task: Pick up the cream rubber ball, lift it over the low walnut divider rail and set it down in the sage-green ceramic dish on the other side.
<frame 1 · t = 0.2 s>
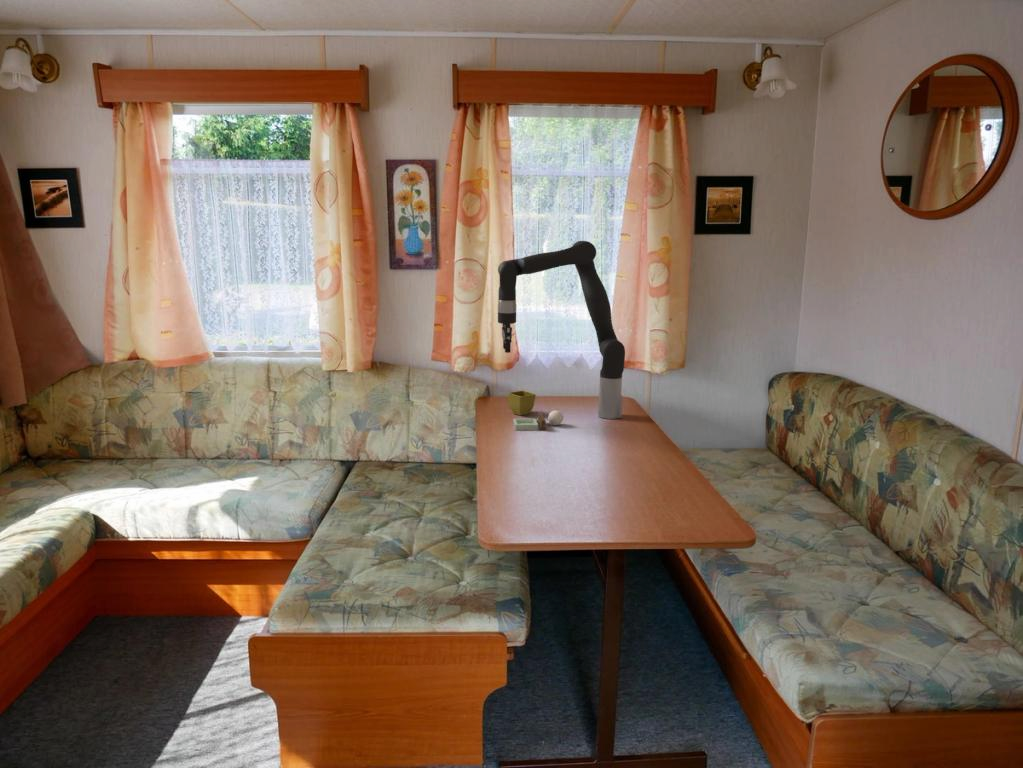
hand: (506, 350, 279), 29 cm above the table, fingers open, 8 cm apart
dish: (525, 426, 272), on the table
ball: (555, 425, 276), on the table
flower pot: (521, 414, 292), on the table
rail: (541, 426, 274), on the table
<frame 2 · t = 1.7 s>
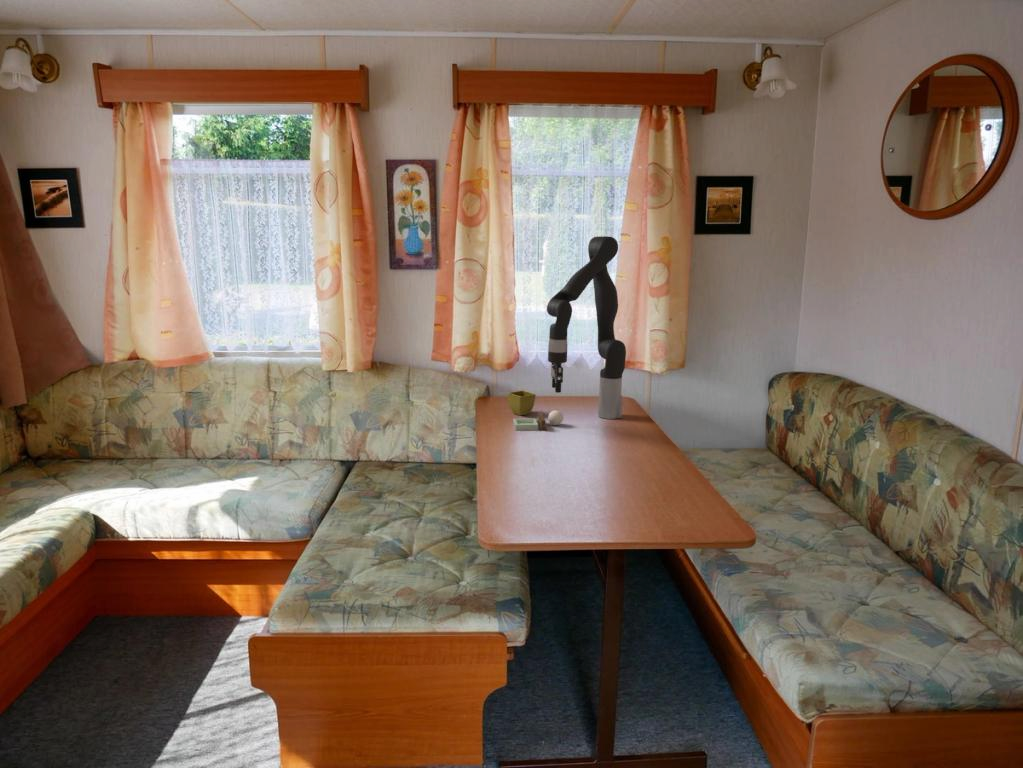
hand: (556, 389, 272), 15 cm above the table, fingers open, 8 cm apart
nothing on the table moved.
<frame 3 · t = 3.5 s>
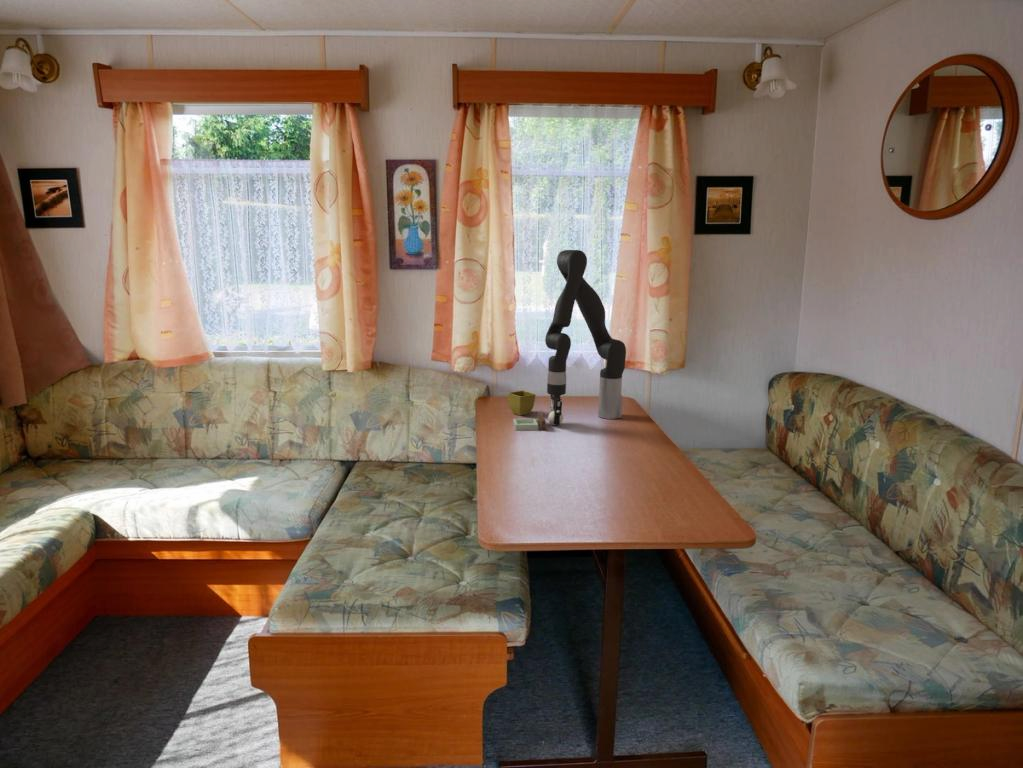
hand: (555, 422, 275), 1 cm above the table, fingers closed on ball, 6 cm apart
ball: (555, 425, 276), on the table, touching gripper
everything else where it was.
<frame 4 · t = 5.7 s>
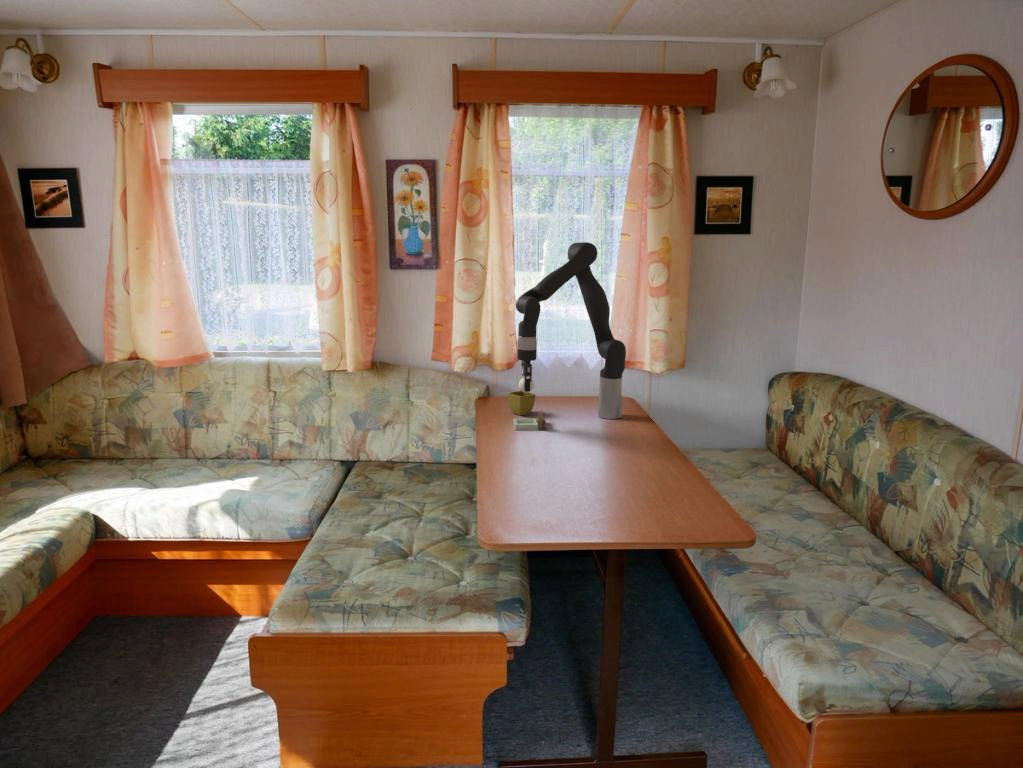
hand: (526, 389, 269), 15 cm above the table, fingers closed on ball, 6 cm apart
ball: (526, 392, 269), point 14 cm above the table, touching gripper
everything else where it was.
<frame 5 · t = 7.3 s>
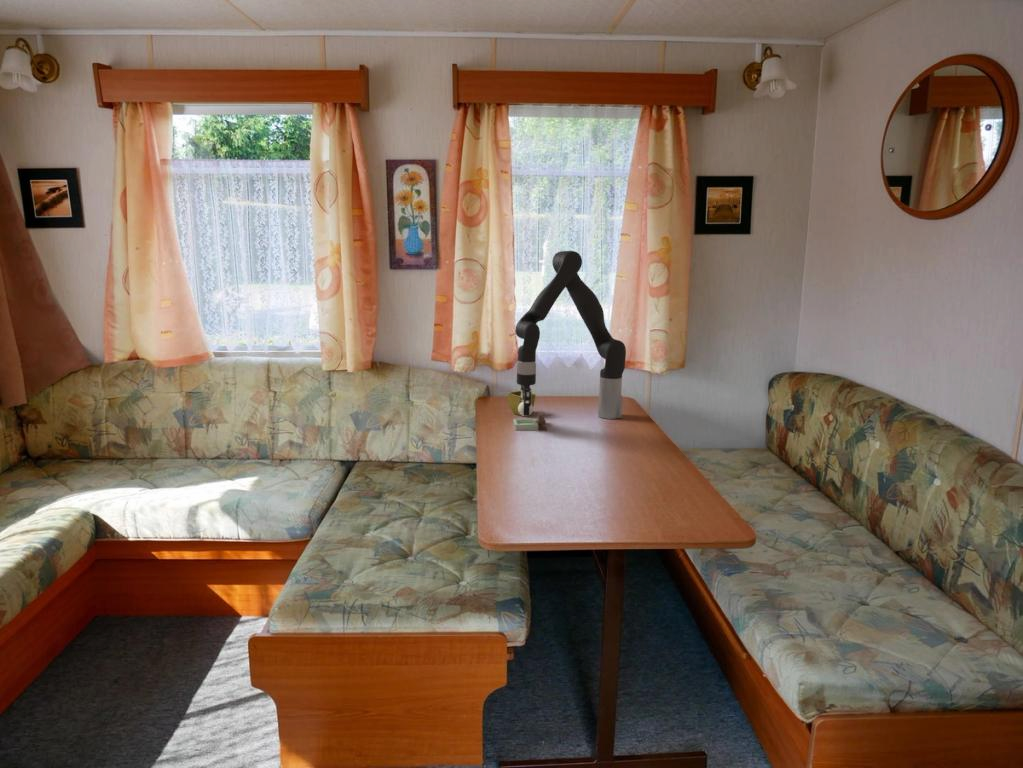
hand: (525, 413, 271), 6 cm above the table, fingers closed on ball, 6 cm apart
ball: (525, 415, 271), point 4 cm above the table, touching gripper
everything else where it was.
when the fingers open (3 cm above the table, at t = 8.4 s): ball drops 2 cm, resting on dish.
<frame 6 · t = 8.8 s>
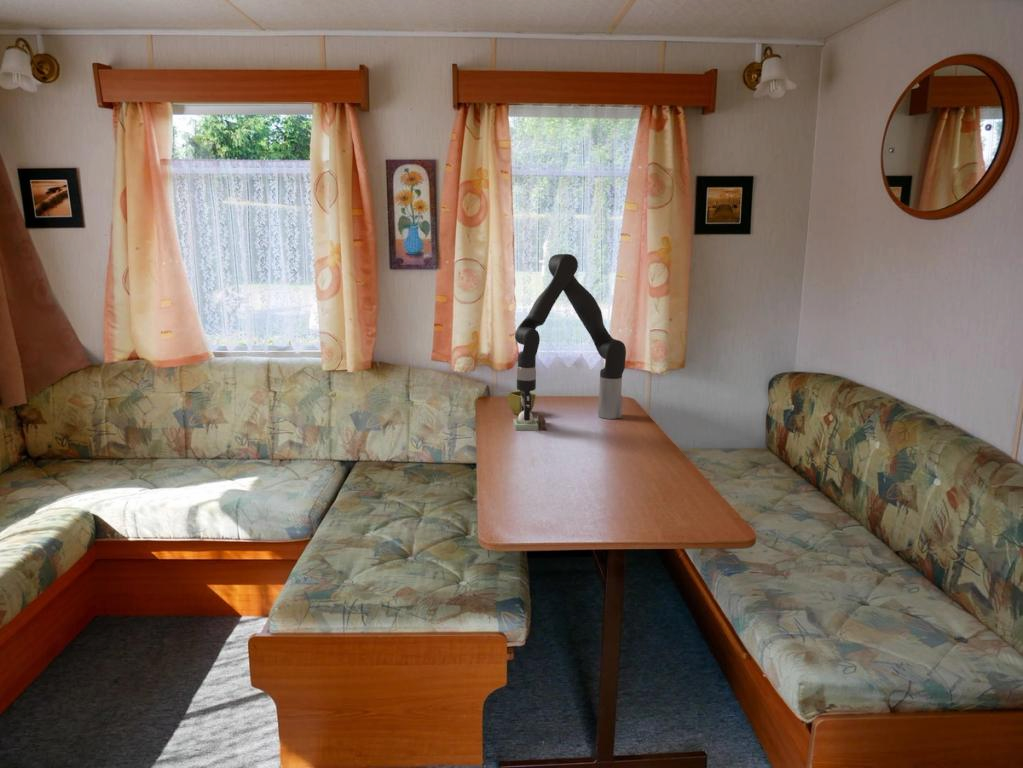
hand: (525, 417, 272), 4 cm above the table, fingers open, 8 cm apart
ball: (525, 425, 272), point 1 cm above the table, touching dish
everything else where it was.
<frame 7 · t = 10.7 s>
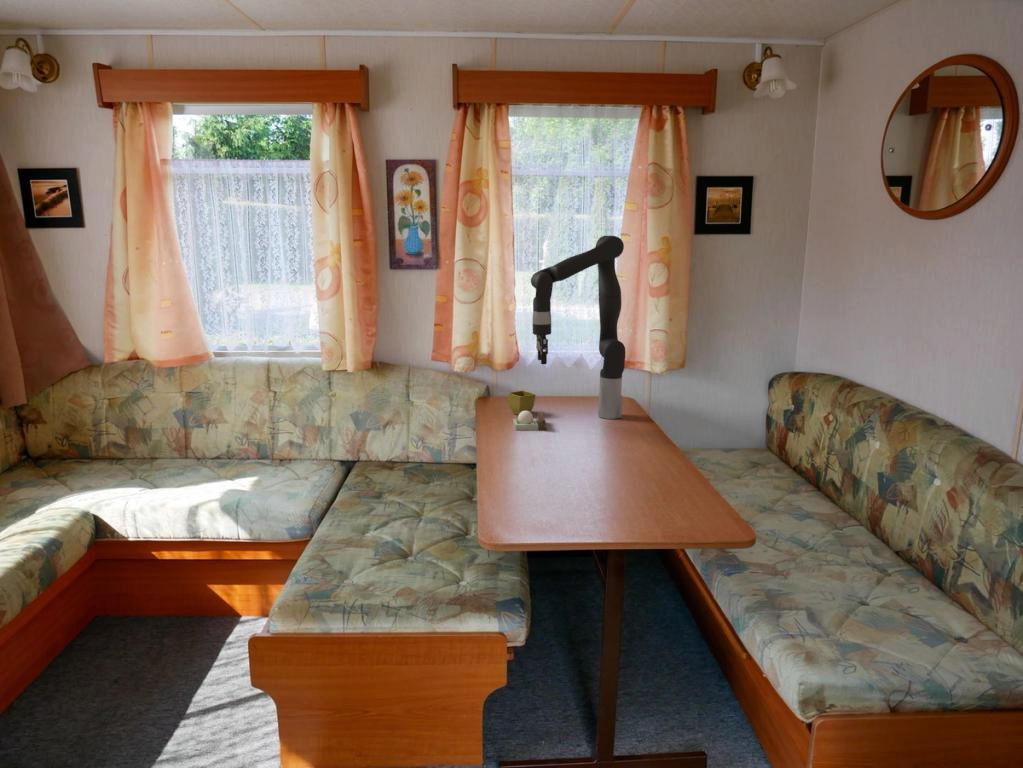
hand: (542, 362, 276), 25 cm above the table, fingers open, 8 cm apart
nothing on the table moved.
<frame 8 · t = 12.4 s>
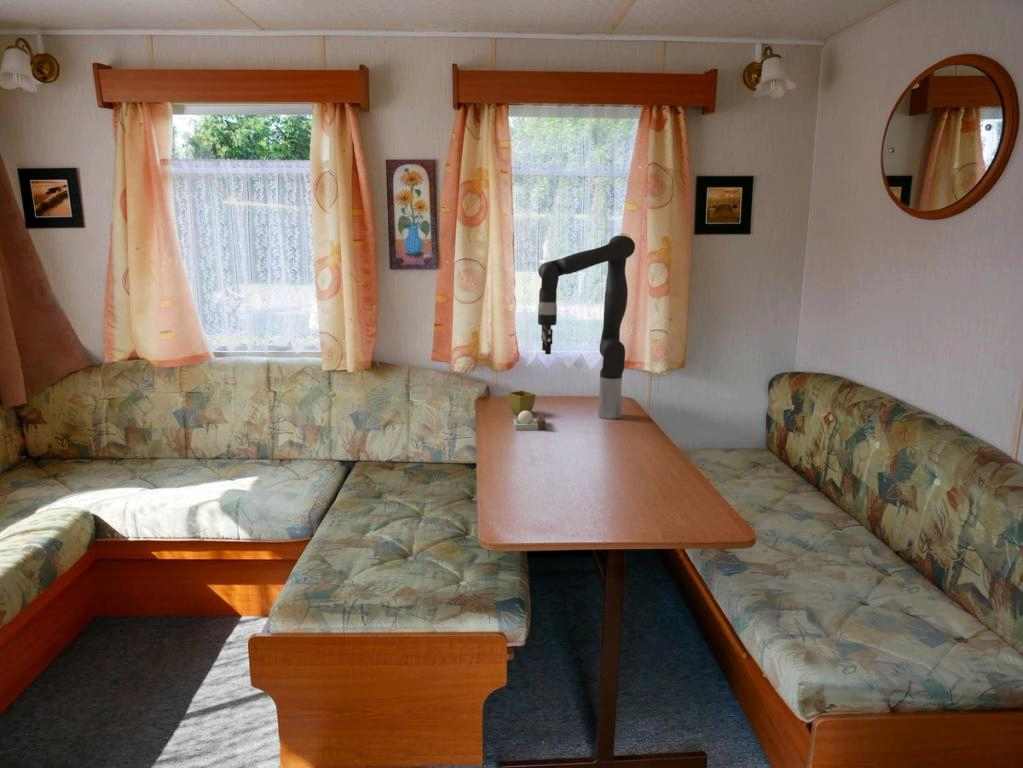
hand: (546, 352, 279), 28 cm above the table, fingers open, 8 cm apart
nothing on the table moved.
at the end: ball 0.0 cm off-centre on the dish, point 0.6 cm above the dish's base; the gripper is holding nothing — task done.
